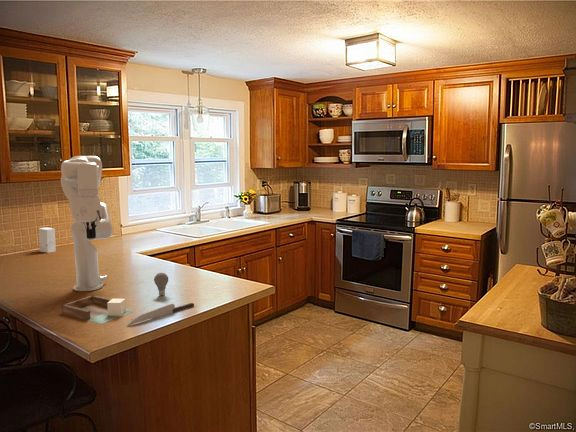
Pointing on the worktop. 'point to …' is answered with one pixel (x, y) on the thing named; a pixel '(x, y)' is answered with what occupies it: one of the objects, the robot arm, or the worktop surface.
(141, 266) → the worktop surface
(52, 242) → the skincare box
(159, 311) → the kitchen knife
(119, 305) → the cream block
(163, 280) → the light bulb
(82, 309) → the walnut cubby
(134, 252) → the worktop surface
